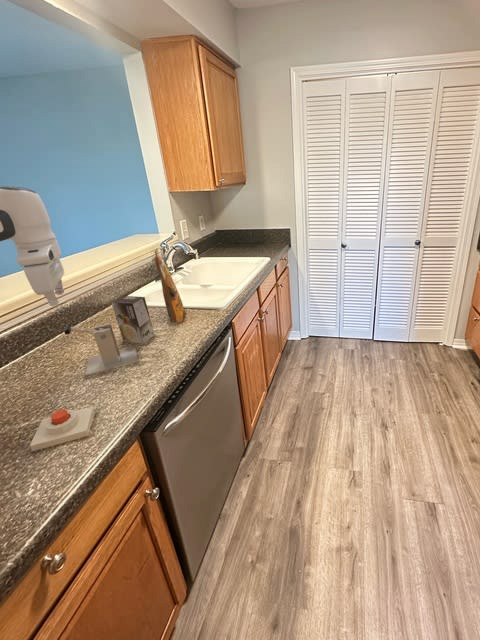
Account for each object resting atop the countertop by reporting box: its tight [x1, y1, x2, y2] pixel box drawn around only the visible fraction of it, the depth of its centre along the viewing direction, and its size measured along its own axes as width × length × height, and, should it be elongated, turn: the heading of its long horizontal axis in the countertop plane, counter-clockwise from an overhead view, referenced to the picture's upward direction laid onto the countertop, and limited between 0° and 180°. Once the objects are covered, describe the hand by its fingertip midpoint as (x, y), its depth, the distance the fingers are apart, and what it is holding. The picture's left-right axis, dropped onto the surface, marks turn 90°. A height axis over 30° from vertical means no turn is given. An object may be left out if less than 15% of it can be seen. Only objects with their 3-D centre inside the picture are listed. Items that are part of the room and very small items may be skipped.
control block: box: [29, 406, 96, 452], centre depth 77 cm, size 11×9×4 cm
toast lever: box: [63, 322, 107, 335], centre depth 97 cm, size 11×5×2 cm, turn 117°
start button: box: [50, 409, 69, 425], centre depth 76 cm, size 3×3×2 cm
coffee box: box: [111, 295, 155, 344], centre depth 114 cm, size 9×6×16 cm
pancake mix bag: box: [154, 248, 185, 324], centre depth 129 cm, size 7×19×28 cm, turn 16°
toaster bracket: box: [85, 322, 138, 377], centre depth 101 cm, size 14×11×13 cm
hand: (57, 299), depth 91 cm, fingers open, 8 cm apart
